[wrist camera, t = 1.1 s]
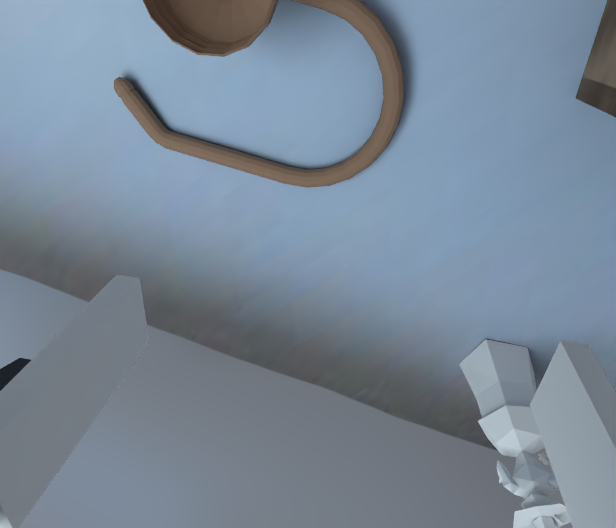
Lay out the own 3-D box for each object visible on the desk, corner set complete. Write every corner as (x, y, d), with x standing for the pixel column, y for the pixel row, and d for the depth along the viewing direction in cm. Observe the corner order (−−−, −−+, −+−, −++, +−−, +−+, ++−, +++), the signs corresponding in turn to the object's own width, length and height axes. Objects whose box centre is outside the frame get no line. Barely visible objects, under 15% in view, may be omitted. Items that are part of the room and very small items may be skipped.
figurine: (479, 400, 49) (519, 577, 34) (450, 349, 46) (480, 517, 31) (544, 383, 47) (620, 566, 31) (518, 328, 44) (587, 500, 28)
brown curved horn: (369, 197, 41) (457, -48, 30) (362, 247, 34) (475, -50, 23) (127, 125, 41) (123, -146, 30) (70, 160, 34) (36, -178, 23)
